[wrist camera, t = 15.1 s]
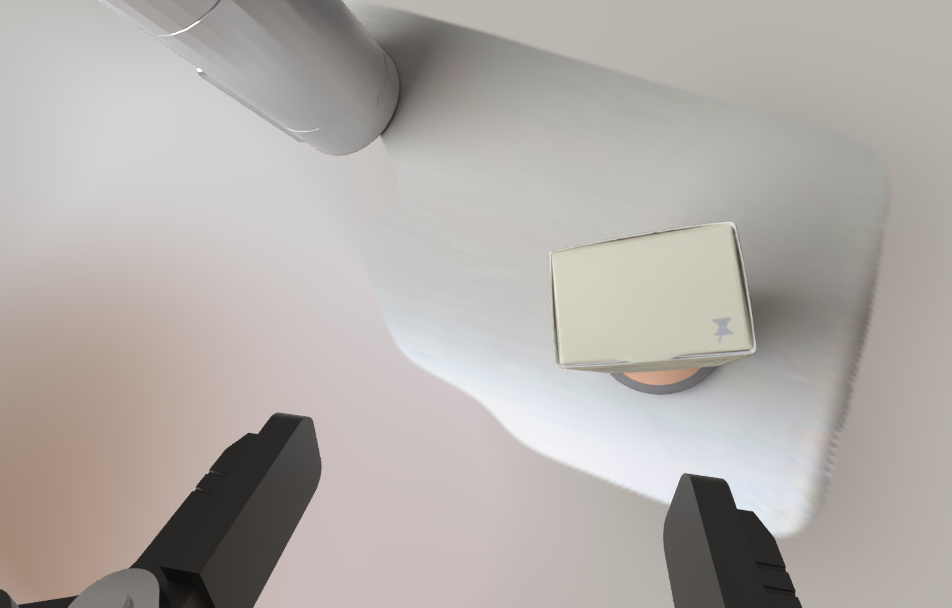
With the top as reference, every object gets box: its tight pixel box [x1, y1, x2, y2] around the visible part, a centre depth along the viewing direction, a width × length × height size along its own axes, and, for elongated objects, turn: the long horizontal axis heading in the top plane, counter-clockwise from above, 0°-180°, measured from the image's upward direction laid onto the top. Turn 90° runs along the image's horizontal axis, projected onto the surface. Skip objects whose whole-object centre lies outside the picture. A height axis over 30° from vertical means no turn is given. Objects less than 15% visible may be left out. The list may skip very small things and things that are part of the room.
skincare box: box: [549, 221, 757, 373], centre depth 21 cm, size 6×4×12 cm
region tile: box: [610, 366, 715, 394], centre depth 27 cm, size 7×7×1 cm
